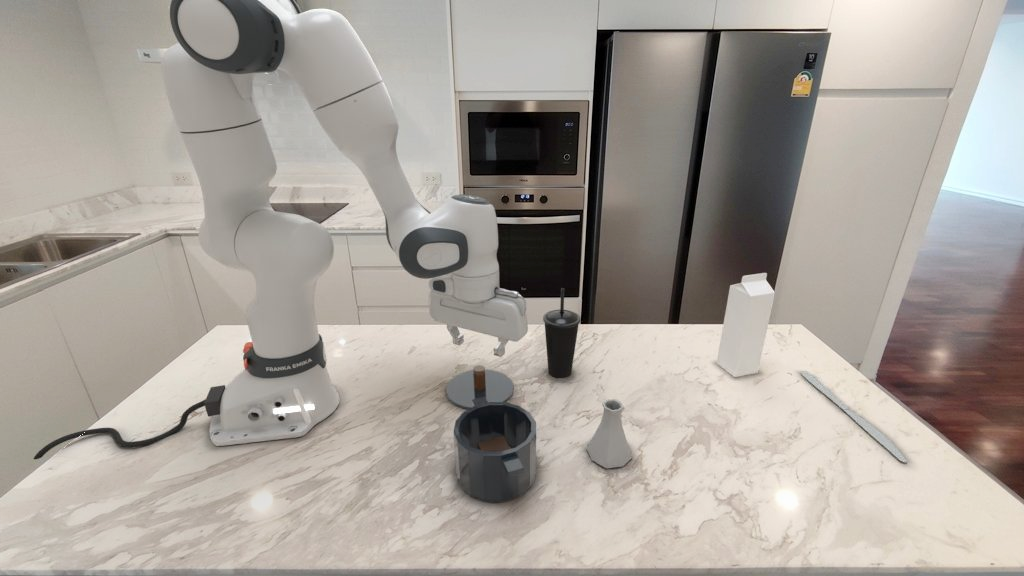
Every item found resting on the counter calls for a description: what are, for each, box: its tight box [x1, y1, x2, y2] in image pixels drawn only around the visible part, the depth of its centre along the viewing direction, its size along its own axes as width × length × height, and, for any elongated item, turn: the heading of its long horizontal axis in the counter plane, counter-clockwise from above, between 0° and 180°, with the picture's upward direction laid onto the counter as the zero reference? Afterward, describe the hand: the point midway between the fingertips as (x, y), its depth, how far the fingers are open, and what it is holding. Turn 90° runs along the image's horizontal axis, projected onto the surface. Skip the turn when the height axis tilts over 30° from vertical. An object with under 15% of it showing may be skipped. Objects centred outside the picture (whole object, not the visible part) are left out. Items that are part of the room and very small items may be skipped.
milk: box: [716, 272, 776, 378], centre depth 101 cm, size 6×6×22 cm
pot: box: [452, 397, 537, 504], centre depth 76 cm, size 13×18×9 cm
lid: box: [445, 364, 514, 410], centre depth 97 cm, size 14×14×6 cm
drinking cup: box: [542, 287, 582, 380], centre depth 100 cm, size 8×8×20 cm
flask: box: [586, 398, 633, 469], centre depth 79 cm, size 7×7×10 cm
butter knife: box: [800, 370, 908, 464], centre depth 90 cm, size 1×27×3 cm
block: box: [478, 436, 511, 452], centre depth 76 cm, size 4×4×4 cm
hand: (478, 349), depth 93 cm, fingers open, 8 cm apart
